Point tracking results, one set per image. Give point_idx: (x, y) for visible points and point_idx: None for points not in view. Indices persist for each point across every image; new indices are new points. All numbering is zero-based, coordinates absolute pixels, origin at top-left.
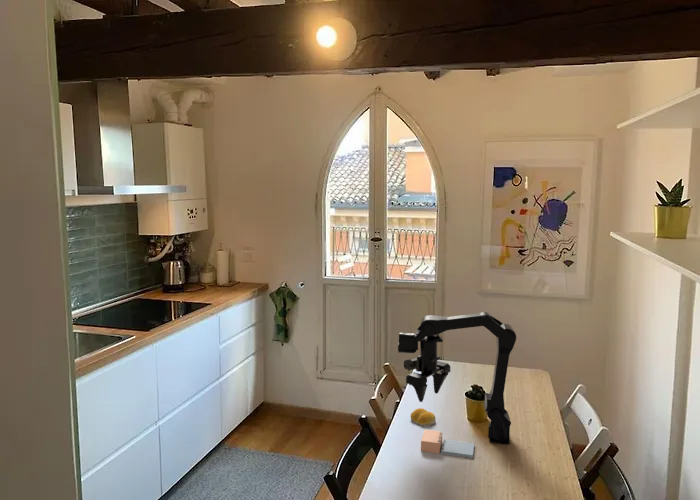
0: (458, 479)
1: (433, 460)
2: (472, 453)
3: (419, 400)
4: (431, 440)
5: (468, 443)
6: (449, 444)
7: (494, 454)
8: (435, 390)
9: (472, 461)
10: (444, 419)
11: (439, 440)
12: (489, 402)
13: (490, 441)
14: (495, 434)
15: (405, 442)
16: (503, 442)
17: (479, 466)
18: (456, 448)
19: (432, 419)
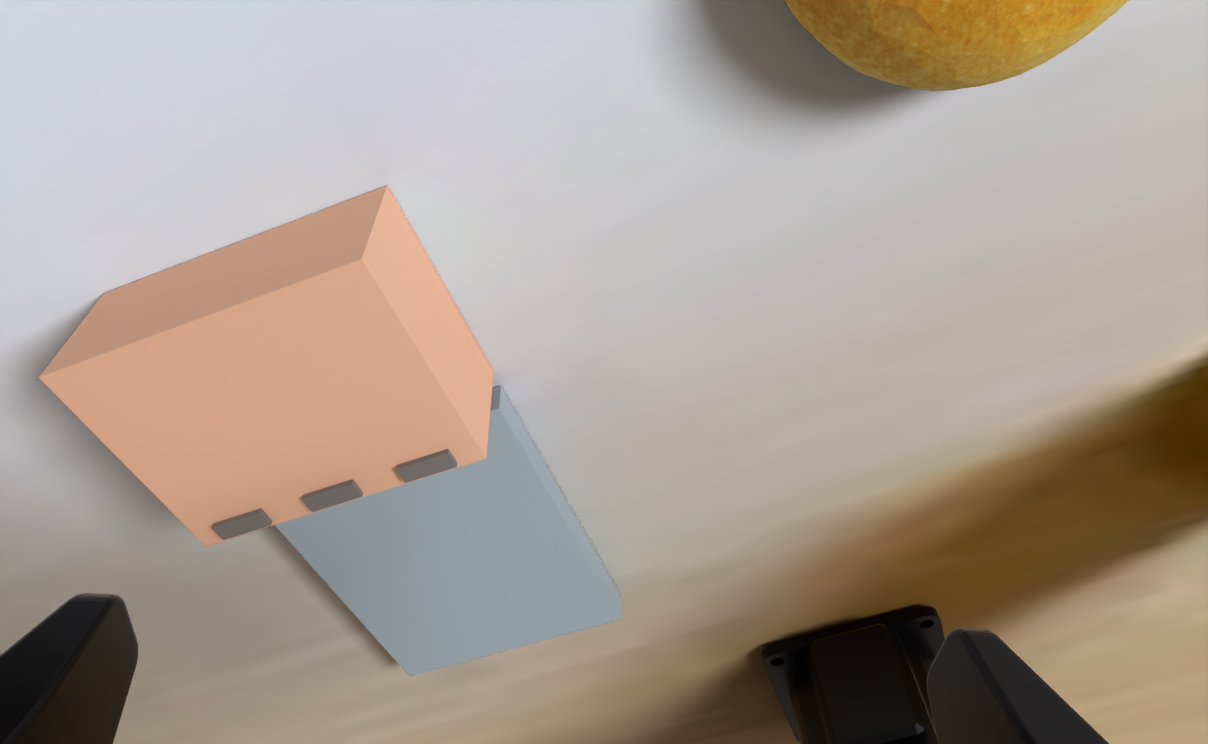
0: None
1: (79, 469)
2: (436, 665)
3: (53, 632)
4: (173, 463)
5: (583, 592)
6: (432, 493)
7: (590, 714)
8: (976, 721)
9: (367, 664)
10: (1128, 122)
11: (248, 529)
12: None
13: (764, 659)
14: (805, 735)
15: (81, 7)
16: (794, 719)
17: (342, 710)
18: (409, 563)
19: (906, 86)
